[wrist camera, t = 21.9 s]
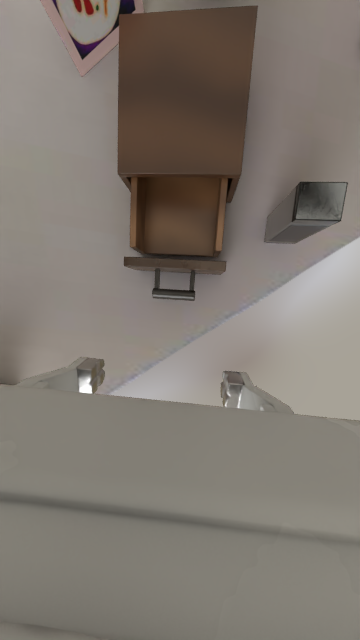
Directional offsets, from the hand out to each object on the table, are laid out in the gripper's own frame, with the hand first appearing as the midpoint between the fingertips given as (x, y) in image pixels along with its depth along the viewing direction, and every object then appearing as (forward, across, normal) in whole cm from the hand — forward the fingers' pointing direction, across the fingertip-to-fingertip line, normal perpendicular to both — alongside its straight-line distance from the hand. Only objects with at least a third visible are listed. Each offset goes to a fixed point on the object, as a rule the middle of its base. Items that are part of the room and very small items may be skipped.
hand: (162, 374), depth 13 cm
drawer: (+20, +1, -12) cm, 23 cm away
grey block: (+20, -14, -14) cm, 28 cm away
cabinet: (+22, +1, -25) cm, 33 cm away
